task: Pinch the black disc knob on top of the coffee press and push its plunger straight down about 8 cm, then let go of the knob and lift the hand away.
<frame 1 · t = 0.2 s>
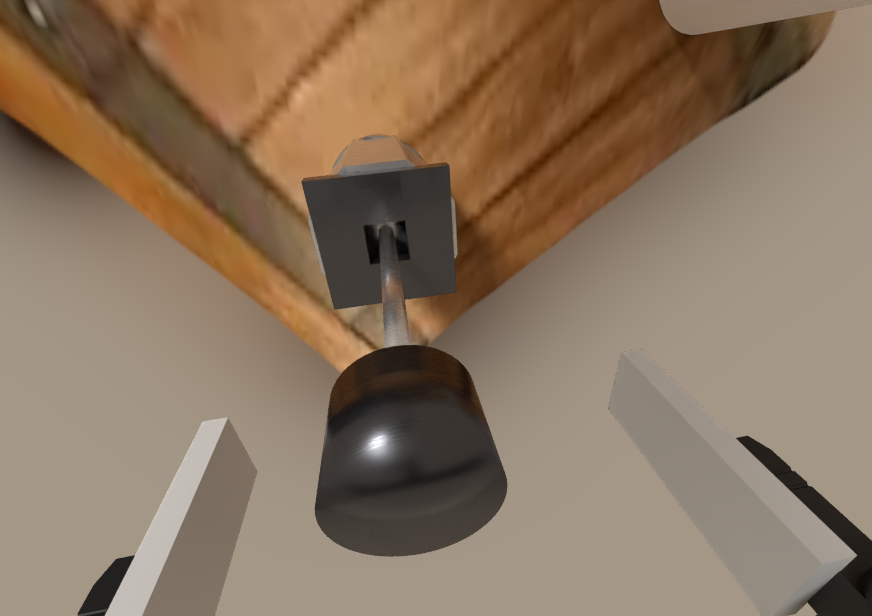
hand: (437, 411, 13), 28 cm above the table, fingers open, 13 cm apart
plunger: (393, 297, 17), point 22 cm above the table, slide at 0.0 cm
press carafe: (381, 189, 36), on the table
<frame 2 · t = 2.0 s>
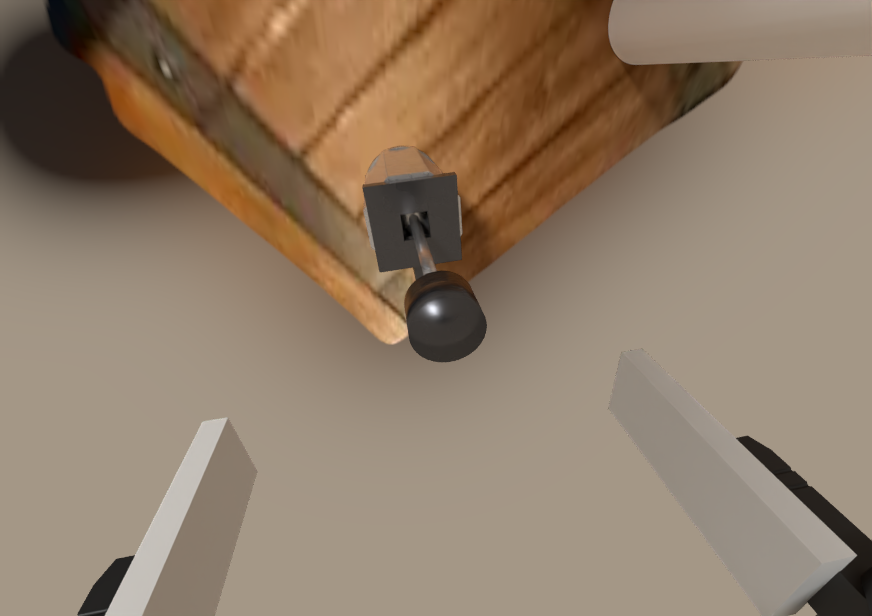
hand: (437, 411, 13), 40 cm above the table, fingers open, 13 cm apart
plunger: (425, 257, 29), point 22 cm above the table, slide at 0.0 cm
cylinder container: (647, 15, 41), on the table
press carafe: (403, 186, 47), on the table
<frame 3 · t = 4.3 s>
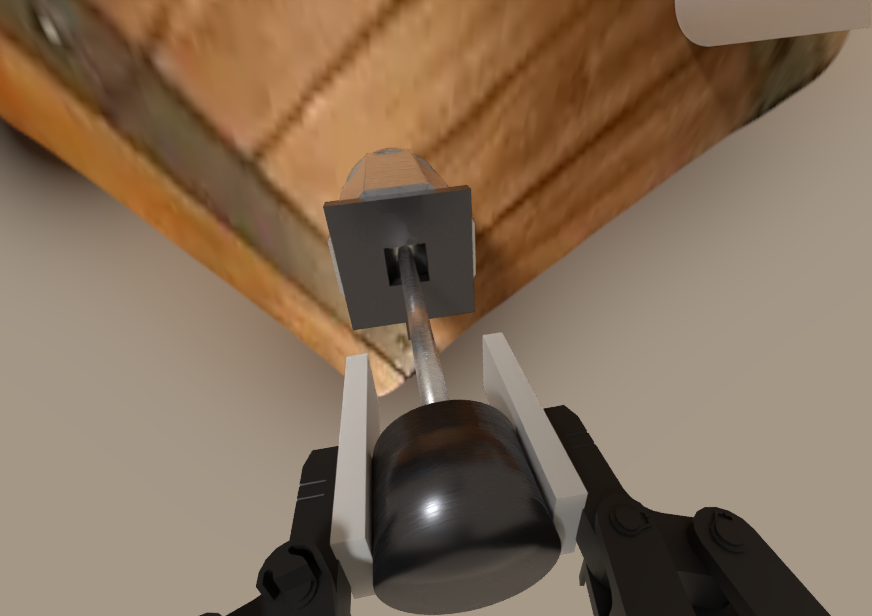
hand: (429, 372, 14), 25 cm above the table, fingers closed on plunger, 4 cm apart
plunger: (420, 328, 17), point 22 cm above the table, slide at 0.0 cm, touching gripper
press carafe: (394, 201, 36), on the table
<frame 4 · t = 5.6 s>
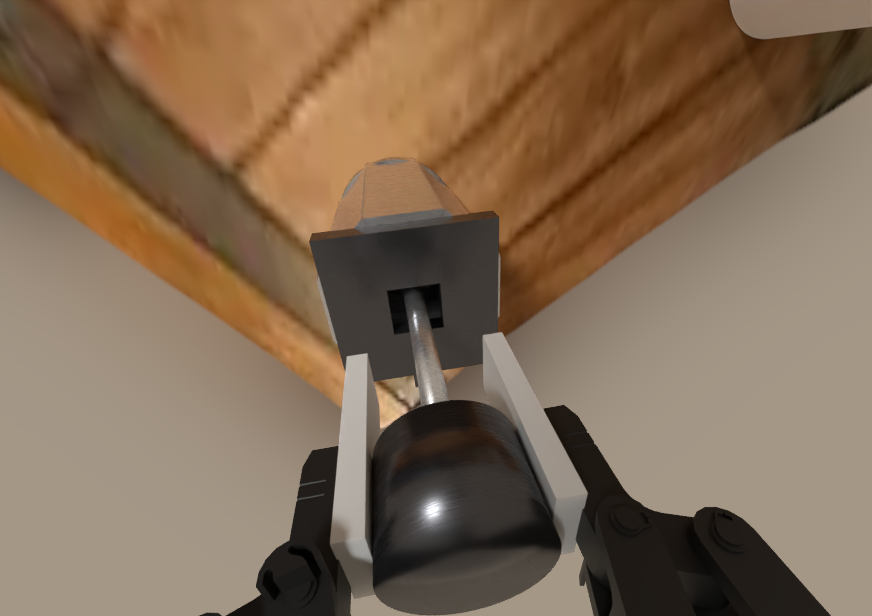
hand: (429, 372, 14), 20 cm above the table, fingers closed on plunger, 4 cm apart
plunger: (420, 328, 17), point 17 cm above the table, slide at 5.4 cm, touching gripper
press carafe: (397, 218, 31), on the table
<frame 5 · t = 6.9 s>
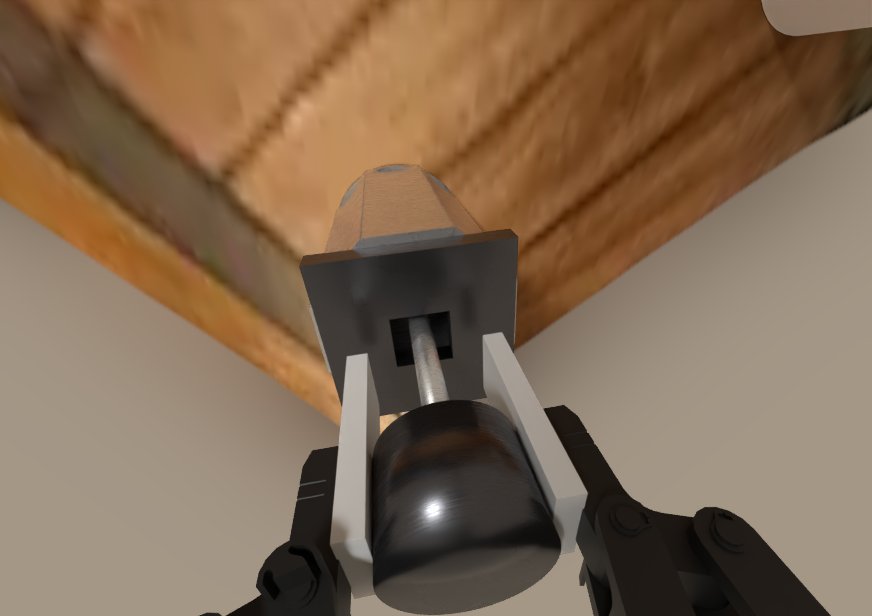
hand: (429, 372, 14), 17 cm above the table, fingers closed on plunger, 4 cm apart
plunger: (420, 328, 17), point 14 cm above the table, slide at 8.0 cm, touching gripper
press carafe: (399, 228, 29), on the table
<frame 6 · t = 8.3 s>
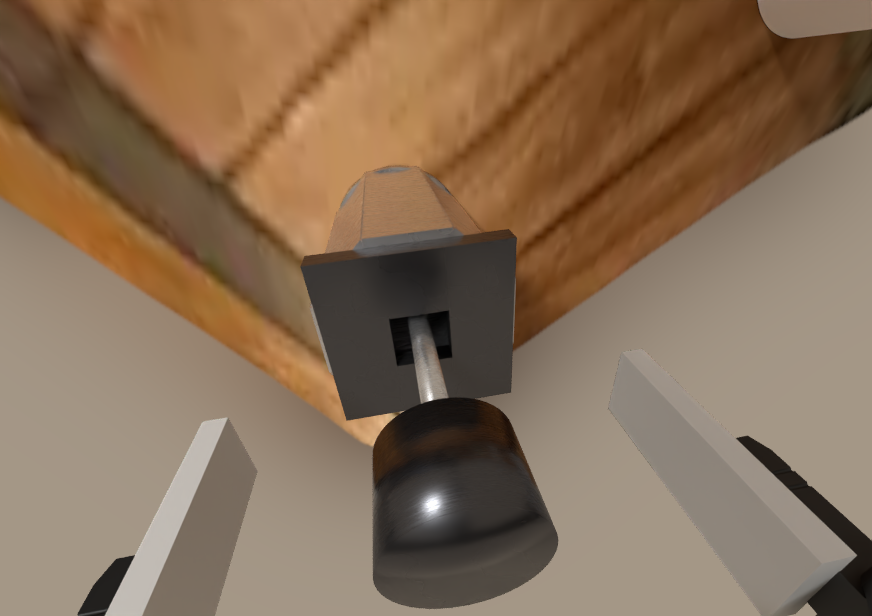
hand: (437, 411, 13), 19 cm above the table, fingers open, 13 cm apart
plunger: (419, 328, 17), point 14 cm above the table, slide at 8.0 cm
press carafe: (399, 229, 29), on the table
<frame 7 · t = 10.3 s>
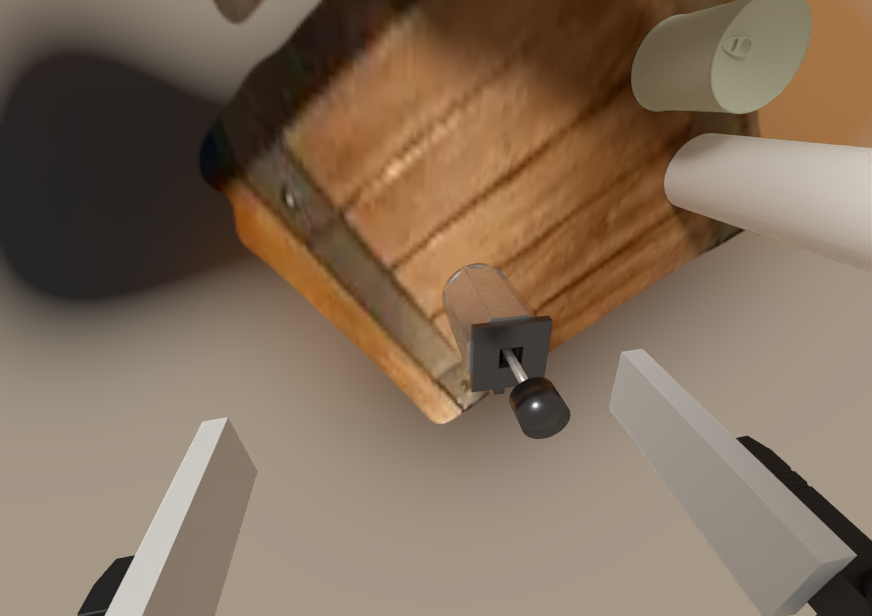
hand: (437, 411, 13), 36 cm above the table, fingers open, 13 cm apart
can: (667, 65, 42), on the table
plunger: (508, 352, 40), point 14 cm above the table, slide at 8.0 cm
cylinder container: (696, 171, 49), on the table
press carafe: (475, 294, 52), on the table
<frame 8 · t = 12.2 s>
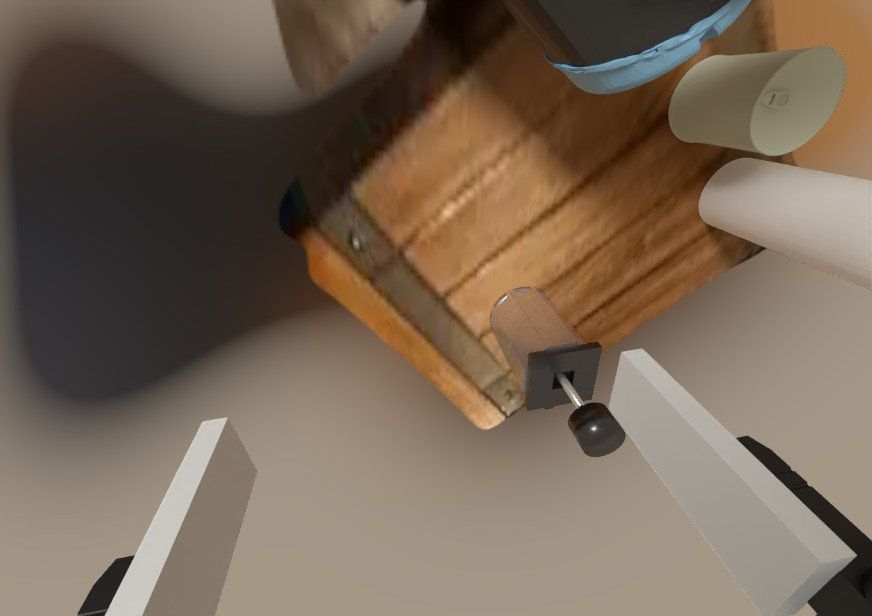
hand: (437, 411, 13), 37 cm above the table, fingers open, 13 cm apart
can: (702, 100, 45), on the table
plunger: (560, 375, 45), point 14 cm above the table, slide at 8.0 cm
cylinder container: (729, 192, 52), on the table
press carafe: (520, 314, 57), on the table
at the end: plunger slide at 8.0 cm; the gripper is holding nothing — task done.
